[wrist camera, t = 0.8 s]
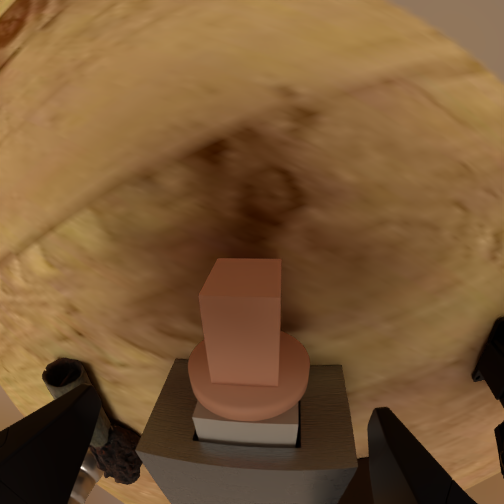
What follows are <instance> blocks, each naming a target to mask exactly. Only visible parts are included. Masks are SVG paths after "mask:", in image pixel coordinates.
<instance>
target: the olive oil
mask: <svg viewBox="0 0 504 504" xmlns="http://www.w3.org/2000/svg"><path fill="white" fill-rule="evenodd" d="M357 463H358V468H357V470H356V472H355V474H354V476H353V477H352V479H351V481H350V483H349V484H348V486H347V488H346V490H345V491H344V493H343V495H342V496H341V498H340V500H339V501H338V503H337V504H374V498H373V491H372V485H371V478H370V471H369V458H363V459H357Z"/></svg>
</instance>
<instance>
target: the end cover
mask: <svg viewBox="0 0 504 504" xmlns="http://www.w3.org/2000/svg"><path fill="white" fill-rule="evenodd" d="M281 264H282V259H249V258H217V260H216V262H215V264H214V266H213V268H212V270H211V272H210V274H209V276H208V278H207V280H206V281H205V283H204V285H203V287H202V289H201V291H200V293H199V295H198V296H199V304H200V311H201V319H202V326H203V333H204V340H203V341H202V342H200V343H199V344H198V345H197V346H196V347H195V349H194V350H193V351H192V353H191V355H190V358H189V361H188V373H189V377H190V382H191V386H192V390H193V393H194V395H195V396H196V398H197V400H198V401H197V404H196V407H195V410H194V413H193V417H192V418H193V421H194V425H195V428H196V432H197V435H198V438H199V442H206V443H214V444H223V445H233V446H246V447H263V448H295V444H296V438H297V431H298V401H299V400H300V399H301V398H302V396H303V395H304V393H305V391H306V389H307V384H308V378H309V370H310V359H309V355H308V353H307V351H306V349H305V347H304V346H303V345H302V344H301V343H300V342H299V341H298V340H297V339H295V338H294V337H292V336H291V335H289V334H287V333H285V332H282V331H280V328H281Z"/></svg>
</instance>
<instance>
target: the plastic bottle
mask: <svg viewBox="0 0 504 504" xmlns="http://www.w3.org/2000/svg"><path fill="white" fill-rule="evenodd" d="M104 472H105V471H102V470H100V469H98V468H97V464H96V462H95V458H94V456H93V454H92V453H91V452H90V449H89V448H88V451H87V453H86V456H85V458H84V461H83V464H82V466H81V469H80V471H79V474H78V477H77V479H76V482H75V485H74V487H73V490H72V493H71V496H70V498H69V501H68V504H84V503H85V501H86V499H87V497H88V496H89V494H90V492H91V491H92V489H93V487H94V486H95V484H96V483H97V482H98V481H99V480H100V478H101V477H102V475H103V474H104Z"/></svg>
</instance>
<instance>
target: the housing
mask: <svg viewBox="0 0 504 504" xmlns="http://www.w3.org/2000/svg"><path fill="white" fill-rule="evenodd" d="M188 361H189V360H182V359H175V361H174V364H173V366H172V368H171V370H170V372H169V375H168V377H167V379H166V381H165V384H164V386H163V388H162V390H161V393H160V395H159V397H158V399H157V402H156V404H155V406H154V408H153V411H152V413H151V415H150V417H149V420H148V422H147V424H146V427H145V429H144V431H143V433H142V436H141V438H140V440H139V443H138V445H137V447H136V450H135V451H136V453H137V454H138V456H139V457H140V459H141V461H142V462H143V464H144V465H145V467H146V468H147V470H148V471H149V473H150V474H151V476H152V477H153V479H154V480H155V482H156V483H157V485H158V486H159V488H160V489H161V490H162V492H163V493H164V494H165V496H166V497H167V499H168V500H169V501H170V503H171V504H337V503H338V501H339V500H340V498H341V496H342V495H343V493H344V491H345V490H346V488H347V486H348V484H349V483H350V481H351V479H352V477H353V476H354V474H355V472H356V470H357V468H358V463H357V456H356V449H355V442H354V435H353V428H352V422H351V416H350V409H349V403H348V398H347V392H346V386H345V381H344V375H343V370H342V365H330V366H310V370H309V378H308V384H307V389H306V391H305V393H304V395H303V396H302V398H301V399H300V400H299V401H298V431H297V438H296V444H295V448H263V447H246V446H233V445H223V444H214V443H206V442H199V438H198V435H197V432H196V428H195V425H194V421H193V418H192V417H193V413H194V410H195V407H196V404H197V401H198V400H197V398H196V396H195V395H194V393H193V390H192V386H191V382H190V377H189V373H188Z"/></svg>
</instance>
